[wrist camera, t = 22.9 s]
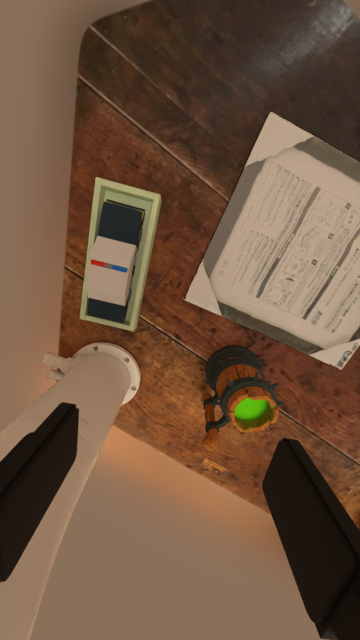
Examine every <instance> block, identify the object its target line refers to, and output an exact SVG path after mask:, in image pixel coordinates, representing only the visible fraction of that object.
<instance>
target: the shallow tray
mask: <svg viewBox="0 0 360 640" xmlns="http://www.w3.org/2000/svg"><path fill="white" fill-rule="evenodd" d="M107 199H109V200H113V201H116V202H120V203H124V204H127V205H131V206H134V207H138V208H142V209H145V217H144V222H143V226H142V238H141V241H140V243H139V249H138V255H137V260H136V266H135V271H134V277H133V282H132V288H131V297H130V301H129V303H128V310H127V314H126V319H125V322H124V323H120V322H116V321H111V320H107V319H102V318H98V317H93V316H90V315H88V314H87V308H88V299H89V297H88V293H87V275H88V267H89V260H90V255H91V250H92V248H93V245H94V243H95V241H96V238H97V236H98V229H99V223H100V217H101V212H102V207H103V203H104V201H106V200H107ZM161 202H162V199H161V196H160V194H156V193H152V192H149V191H145V190H141V189H138V188H134V187H130V186H127V185H123V184H119V183H116V182H112V181H109V180H105V179H101V178H98V177H96V179H95V188H94V196H93V205H92V214H91V223H90V231H89V240H88V249H87V258H86V266H85V275H84V284H83V293H82V301H81V310H80V319H83V320H87V321H92V322H96V323H100V324H104V325H108V326H113V327H117V328H121V329H125V330H129V331H134V330H135V329H136V328H137V324H138V319H139V314H140V309H141V303H142V298H143V293H144V288H145V283H146V278H147V273H148V268H149V263H150V258H151V253H152V248H153V243H154V238H155V233H156V227H157V222H158V217H159V212H160V207H161Z"/></svg>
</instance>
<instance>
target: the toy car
mask: <svg viewBox="0 0 360 640" xmlns="http://www.w3.org/2000/svg"><path fill="white" fill-rule="evenodd" d="M144 217H145V209H142V208H138V207H134V206H131V205H127V204H124V203H120V202H116V201H113V200H109V199H107V200H106V201H104V203H103V207H102V212H101V217H100V223H99V229H98V236H97V238H96V241H95V243H94V245H93V248H92V250H91V255H90V260H89V267H88V275H87V293H88V297H89V299H88V308H87V314H88V315H90V316H93V317H98V318H102V319H107V320H111V321H116V322H120V323H124V322H125V319H126V314H127V310H128V303H129V301H130V297H131V288H132V282H133V277H134V271H135V266H136V260H137V255H138V249H139V243H140V241H141V238H142V226H143V222H144Z"/></svg>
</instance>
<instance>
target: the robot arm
mask: <svg viewBox="0 0 360 640" xmlns="http://www.w3.org/2000/svg"><path fill="white" fill-rule="evenodd" d="M97 347H98V348H97ZM128 358H129V359H128ZM42 363H44V364H46V365H49V366H52V367H57V368H59V369H61V372H63V373H61V372H60V371H57V370H54V369H51V370H50V371H49V373H48V375H47V377H49V378H52V379H55V380H59V381H58V382H57V383H56V384H55V385H53V386H52V387H51V388H50V389H49V390H48V391H47V392H46V393H45V394H43V395H42V396H41V397H40V398H39V399H38V400H37V401H36V402H35V403H33V404H32V405H31V406H30V407H29V408H28V409H27V410H26V411H25V412H23V413H22V414H21V415H20V416H19V417H18V418H17V419H16V420H15V421H13V423H11V424H10V425H9V426H8V427H7V428H6V429H5V430H3V431H2V432H1V433H0V640H29V639H30V636H31V632H32V629H33V626H34V622H35V619H36V616H37V613H38V609H39V606H40V603H41V599H42V596H43V593H44V589H45V587H46V583H47V581H48V578H49V574H50V571H51V568H52V565H53V562H54V559H55V557H56V554H57V551H58V549H59V546H60V543H61V540H62V537H63V535H64V532H65V530H66V528H67V525H68V523H69V520H70V518H71V515H72V513H73V511H74V508H75V506H76V504H77V501H78V499H79V497H80V494H81V492H82V490H83V488H84V486H85V483H86V481H87V479H88V477H89V475H90V472H91V470H92V468H93V466H94V464H95V461H96V459H97V457H98V455H99V453H100V450H101V448H102V446H103V444H104V442H105V440H106V437H107V435H108V433H109V431H110V429H111V426H112V424H113V422H114V420H115V418H116V415H117V413H118V411H119V409H120V407H121V405H123V404H125V403H127V402H128V401H130V400H131V399H132V398H133V397H134V396H135V394H136V392H137V390H138V388H139V385H140V380H141V373H140V369H139V366H138V364H137V362H136V360H135V359H134V357H133V356H132V355H131V354H130V353H129V352H128V351H127V350H125V349H124V348H122V347H120V346H118V345H116V344H112V343H107V342H96V343H92V344H88V345H86V346H84V347H83V348H81V349H80V350H79V351H77V353H76V354H75V355H74V356H73V357H72V358H70V357H68V358H67V359H66V358H63V357H60V356H59V355H56V354H54V353H51V352H48V353H46V354H45V356H44V357H43V359H42ZM64 373H65V374H64ZM262 486H263V492H264V495H265V498H266V501H267V503H268V506H269V509H270V512H271V514H272V517H273V520H274V522H275V525H276V528H277V531H278V534H279V536H280V539H281V542H282V545H283V548H284V550H285V553H286V556H287V559H288V561H289V564H290V566H291V570H292V572H293V575H294V578H295V581H296V583H297V586H298V589H299V592H300V595H301V597H302V600H303V603H304V605H305V608H306V611H307V613H308V615H309V617H310V619H311V620H312V621H313V622H314V623H315V625H316V628H317V631H318V633H319V636H320V638H322V639H330V640H360V531H359V529H358V528H357V527H356V525H355V524H354V522H353V521H352V519H351V518H350V516H349V515H348V513H347V512H346V510H345V509H344V507H343V506H342V504H341V503H340V501H339V500H338V498H337V497H336V495H335V494H334V492H333V491H332V490H331V488H330V487H329V485H328V484H327V482H326V481H325V479H324V478H323V476H322V475H321V473H320V472H319V470H318V469H317V467H316V466H315V464H314V463H313V461H312V460H311V458H310V457H309V455H308V454H307V453H306V451H305V450H304V448H303V447H302V445H301V444H300V442H299V441H297V440H294V439H287V438H283V439H282V441H279V443H278V445H277V448H276V450H275V453H274V455H273V458H272V460H271V463H270V465H269V468H268V470H267V473H266V475H265V478H264V480H263V485H262Z"/></svg>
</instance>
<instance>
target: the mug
mask: <svg viewBox="0 0 360 640" xmlns="http://www.w3.org/2000/svg"><path fill="white" fill-rule="evenodd" d="M264 365H265V363H263V364H260V362H259V360H258V358H257V357H256V355H255V354H254V353H252V352H251V351H250V350H248V349H247V348H244V347H240V346H227V347H224V348H222V349H220V350H218V351H216V352H215V353H214V354H213V355H212V356H211V357H210V358H209V360H208V363H207V366H206V378H207V382H206V384H209V385H210V386H211V388H212V389H213V390H214V391H215V393H216V394H215V395H214V397H213V398H212V395H211V394H209V393H204V394H203V395H202V397H201V401H202V403H203V405H204V408H205V420H206V425H205V428H206V432H207V435H206V437H205V438H204V440H203V446H204V447H205V448H206V449H207V450H209V451H212V452H214V451H215V450H216V449H217V447H218V432H219V428H221V427H223V426H224V425H226V424H227V423H228V422H231V423H232V424H233V426H234V427H235V428H236V429H237V430H238V431H239V432H240V433H242V434H243V433H249V432H259V431H261V430H263V429H266V428H267V427H268V426H270V425H271V424H272V423H273V424H275V423H276V422H277V420H278V419H279V411H278V408H277V405H283V404H284V402H281V401H277V398H276V396H275V394H274V392H273V389H274V388H275V387H276V386H278V385H279V384H278V383H275V384H272V385H269V383H271V382H270V381H267V380H265V377H264V375H263V373H262V371H261V368H262V367H263V366H264ZM218 400H220V401H218ZM217 401H218V402H217ZM215 405H220V407H221V410H222V412H223V413H224V415H223V416H222V418H221V419H219V420H218V421H216V422H215V415H214V408H215Z"/></svg>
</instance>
